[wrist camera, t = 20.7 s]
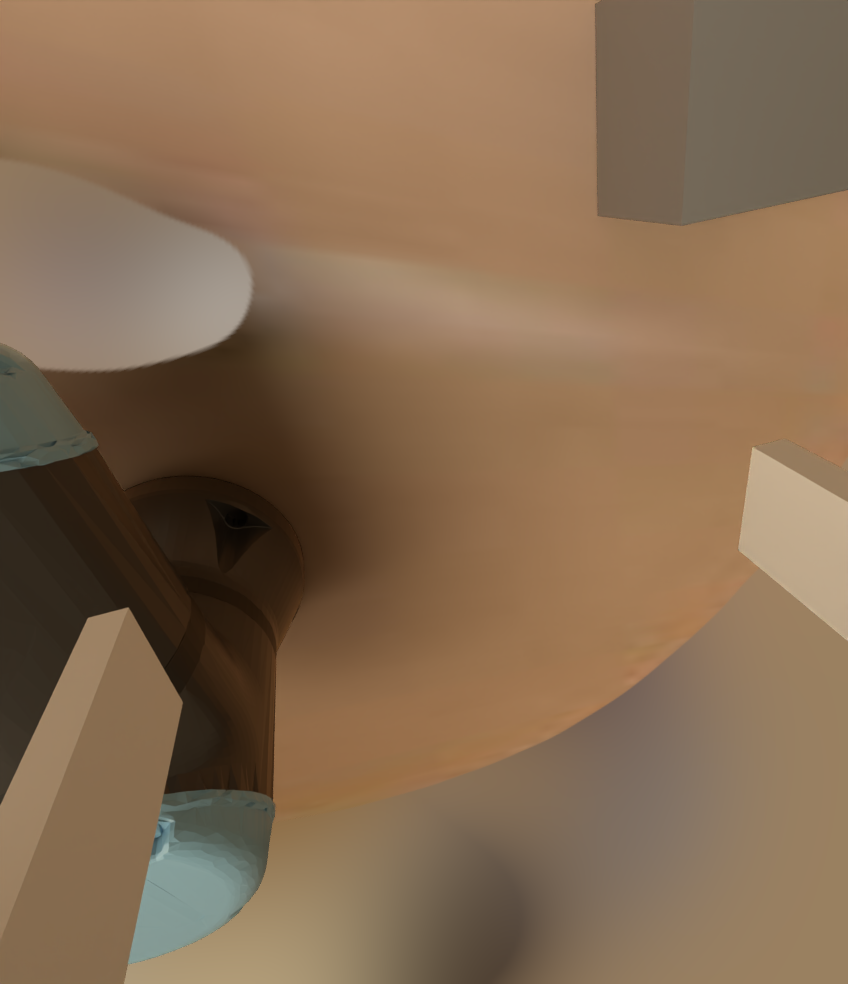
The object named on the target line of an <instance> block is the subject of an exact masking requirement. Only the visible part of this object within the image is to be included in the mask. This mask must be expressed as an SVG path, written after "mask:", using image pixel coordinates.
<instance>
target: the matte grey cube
mask: <svg viewBox="0 0 848 984" xmlns="http://www.w3.org/2000/svg"><path fill="white" fill-rule="evenodd" d="M595 24H596V111H597V197H598V216H602V217H611V218H619V219H628V220H636V221H645V222H653V223H662V224H670V225H679V226H683V225H688V224H692V223H697V222H701V221H706V220H711V219H715V218H720V217H725V216H729V215H734V214H738V213H743V212H748V211H752V210H757V209H761V208H766V207H771V206H775V205H780V204H785V203H789V202H794V201H798V200H803V199H808V198H812V197H817V196H822V195H826V194H831V193H835V192H840V191H845V190H848V0H602V1H600V2H598V3H596V4H595Z"/></svg>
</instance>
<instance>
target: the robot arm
mask: <svg viewBox="0 0 848 984" xmlns="http://www.w3.org/2000/svg"><path fill="white" fill-rule="evenodd" d="M98 445H99V444H98V442H97V440H96V438H95V437H94V435H93V434H92V432H89V431H86V430H84V429H83V428H82V427H81V425H80V424H79V422H78V421H77V420H76V418H75V417H74V416H73V414H72V413H71V412H70V410H69V409H68V408H67V406H66V405H65V404H64V402H63V401H62V400H61V398H60V397H59V395H58V394H57V393H56V391H55V390H54V389H53V387H52V386H51V385H50V383H49V382H48V381H47V379H46V378H45V377H44V375H43V374H42V373H41V371H40V370H39V368H38V367H37V366H36V365H35V364H34V363H33V362H32V361H31V360H30V359H28V358H27V357H26V356H25V355H23V354H22V353H20V352H18V351H17V350H15V349H13V348H11V347H9V346H7V345H4V344H1V343H0V984H124V980H125V975H126V970H127V966H128V964H132V963H137V962H141V961H145V960H148V959H151V958H155V957H158V956H160V955H164V954H166V953H169V952H172V951H175V950H177V949H180V948H182V947H185V946H187V945H189V944H192V943H194V942H196V941H198V940H200V939H202V938H204V937H206V936H207V935H209V934H211V933H213V932H214V931H216V930H217V929H219V928H220V927H222V926H223V925H224V924H226V923H227V922H229V921H230V920H231V919H232V918H233V917H235V916H236V915H237V914H238V913H239V911H240V910H241V909H242V908H243V906H244V905H245V904H246V903H247V902H248V901H249V900H250V899H251V897H252V896H253V895H254V893H255V892H256V891H257V889H258V888H259V886H260V884H261V881H262V879H263V876H264V873H265V869H266V865H267V858H268V849H269V842H270V835H271V828H272V822H273V820H274V817H275V804H274V802H273V773H274V731H275V689H276V652H277V650H278V648H279V646H280V645H281V643H282V641H283V639H284V637H285V635H286V633H287V631H288V628H289V626H290V624H291V622H292V621H293V619H294V617H295V615H296V613H297V611H298V608H299V606H300V603H301V599H302V594H303V588H304V562H303V554H302V550H301V546H300V543H299V540H298V538H297V536H296V534H295V532H294V530H293V529H292V527H291V525H290V524H289V523H288V521H287V520H286V519H285V518H284V516H283V515H282V514H281V513H280V512H279V511H278V510H277V509H276V508H275V507H274V506H272V505H271V504H270V503H269V502H267V501H266V500H265V499H263V498H261V497H260V496H258V495H257V494H255V493H253V492H251V491H249V490H247V489H245V488H243V487H240V486H238V485H235V484H232V483H229V482H226V481H221V480H217V479H212V478H205V477H194V476H179V477H168V478H162V479H157V480H152V481H149V482H145V483H142V484H139V485H137V486H134V487H132V488H130V489H128V490H126V491H123V489H122V488H121V486H120V485H119V483H118V482H117V480H116V479H115V477H114V475H113V474H112V472H111V471H110V469H109V467H108V466H107V464H106V463H105V461H104V459H103V458H102V456H101V455H100V453H99V451H98V450H97V448H96V447H98ZM738 550H739V551H740V552H741V553H742V554H743V555H745V556H746V557H747V558H748V559H749V560H751V561H752V562H753V563H754V564H755V565H757V566H758V567H759V568H760V569H762V570H763V571H764V572H765V573H766V574H768V575H769V576H770V577H771V578H772V579H774V580H775V581H776V582H777V583H778V584H780V585H781V586H782V587H783V588H784V589H786V590H787V591H788V592H789V593H790V594H792V595H793V596H794V597H795V598H797V599H798V600H799V601H800V602H801V603H803V604H804V605H805V606H806V607H807V608H808V609H810V610H811V611H812V612H813V613H814V614H816V615H817V616H818V617H819V618H821V619H822V620H823V621H824V622H825V623H827V624H828V625H829V626H830V627H831V628H833V629H834V630H835V631H836V632H837V633H839V634H840V635H841V636H842V637H843V638H845V639H846V640H847V641H848V471H846V470H844V469H842V468H840V467H839V466H837V465H835V464H833V463H831V462H829V461H827V460H825V459H823V458H821V457H820V456H818V455H816V454H814V453H812V452H810V451H808V450H806V449H804V448H802V447H800V446H799V445H797V444H795V443H793V442H791V441H789V440H787V439H781V440H777V441H773V442H770V443H766V444H762V445H758V446H754V447H752V454H751V461H750V468H749V476H748V483H747V490H746V497H745V504H744V511H743V518H742V526H741V533H740V540H739V547H738Z"/></svg>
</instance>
